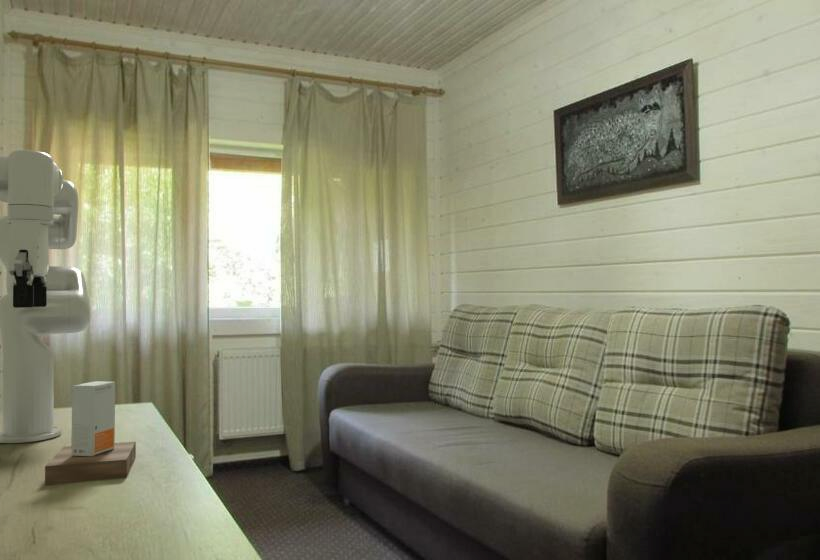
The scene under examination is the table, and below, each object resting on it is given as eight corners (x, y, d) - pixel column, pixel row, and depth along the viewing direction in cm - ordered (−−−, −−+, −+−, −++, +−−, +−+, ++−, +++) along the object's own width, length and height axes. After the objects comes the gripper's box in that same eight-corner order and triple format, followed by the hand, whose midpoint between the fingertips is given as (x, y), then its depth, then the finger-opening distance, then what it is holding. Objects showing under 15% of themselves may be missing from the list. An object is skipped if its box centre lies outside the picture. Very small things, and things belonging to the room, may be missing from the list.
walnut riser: (63, 463, 115) (63, 446, 115) (135, 457, 118) (135, 441, 118) (44, 485, 101) (45, 466, 101) (126, 477, 105) (126, 459, 105)
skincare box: (92, 457, 107) (92, 385, 107) (70, 456, 108) (70, 385, 108) (116, 448, 113) (116, 381, 113) (95, 447, 114) (95, 380, 114)
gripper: (20, 221, 127) (20, 306, 127) (-7, 210, 111) (-7, 308, 111) (62, 222, 130) (62, 306, 129) (41, 211, 113) (41, 307, 113)
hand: (30, 307), depth 120 cm, fingers open, 9 cm apart
